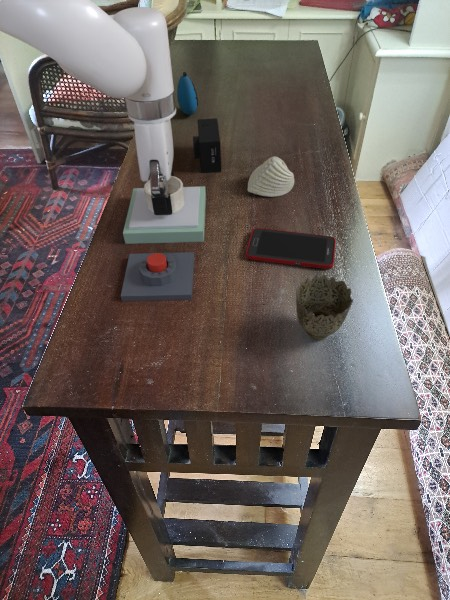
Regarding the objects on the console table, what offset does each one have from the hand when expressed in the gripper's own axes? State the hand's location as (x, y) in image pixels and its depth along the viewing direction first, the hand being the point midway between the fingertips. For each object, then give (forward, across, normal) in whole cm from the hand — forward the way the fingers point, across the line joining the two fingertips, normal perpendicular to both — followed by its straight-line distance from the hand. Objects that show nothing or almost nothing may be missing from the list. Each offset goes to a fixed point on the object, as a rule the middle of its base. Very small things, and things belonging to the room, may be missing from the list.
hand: (165, 200), depth 83 cm
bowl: (+1, 0, 0) cm, 1 cm away
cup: (+4, +28, +24) cm, 37 cm away
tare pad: (+4, +16, 0) cm, 17 cm away
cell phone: (+4, +10, +22) cm, 25 cm away
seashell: (+4, -10, +20) cm, 23 cm away
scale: (+4, 0, 0) cm, 4 cm away
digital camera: (+4, -21, +7) cm, 23 cm away
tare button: (+1, +16, 0) cm, 16 cm away
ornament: (-1, -44, +2) cm, 44 cm away
